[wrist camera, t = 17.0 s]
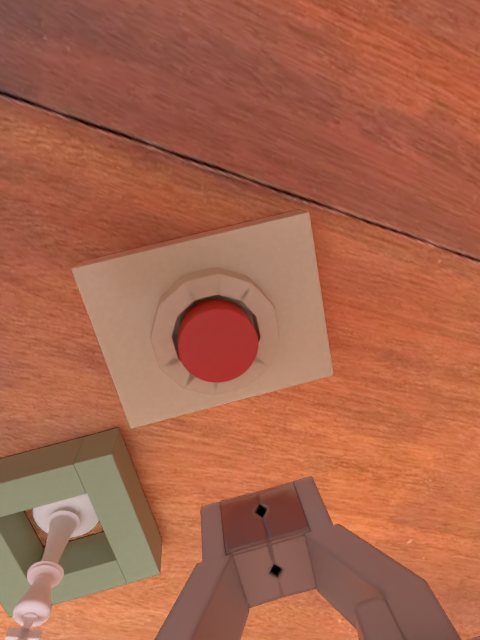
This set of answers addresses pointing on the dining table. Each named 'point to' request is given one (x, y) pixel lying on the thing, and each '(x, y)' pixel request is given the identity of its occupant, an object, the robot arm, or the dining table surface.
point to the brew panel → (199, 286)
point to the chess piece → (50, 561)
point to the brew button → (217, 341)
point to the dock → (110, 507)
